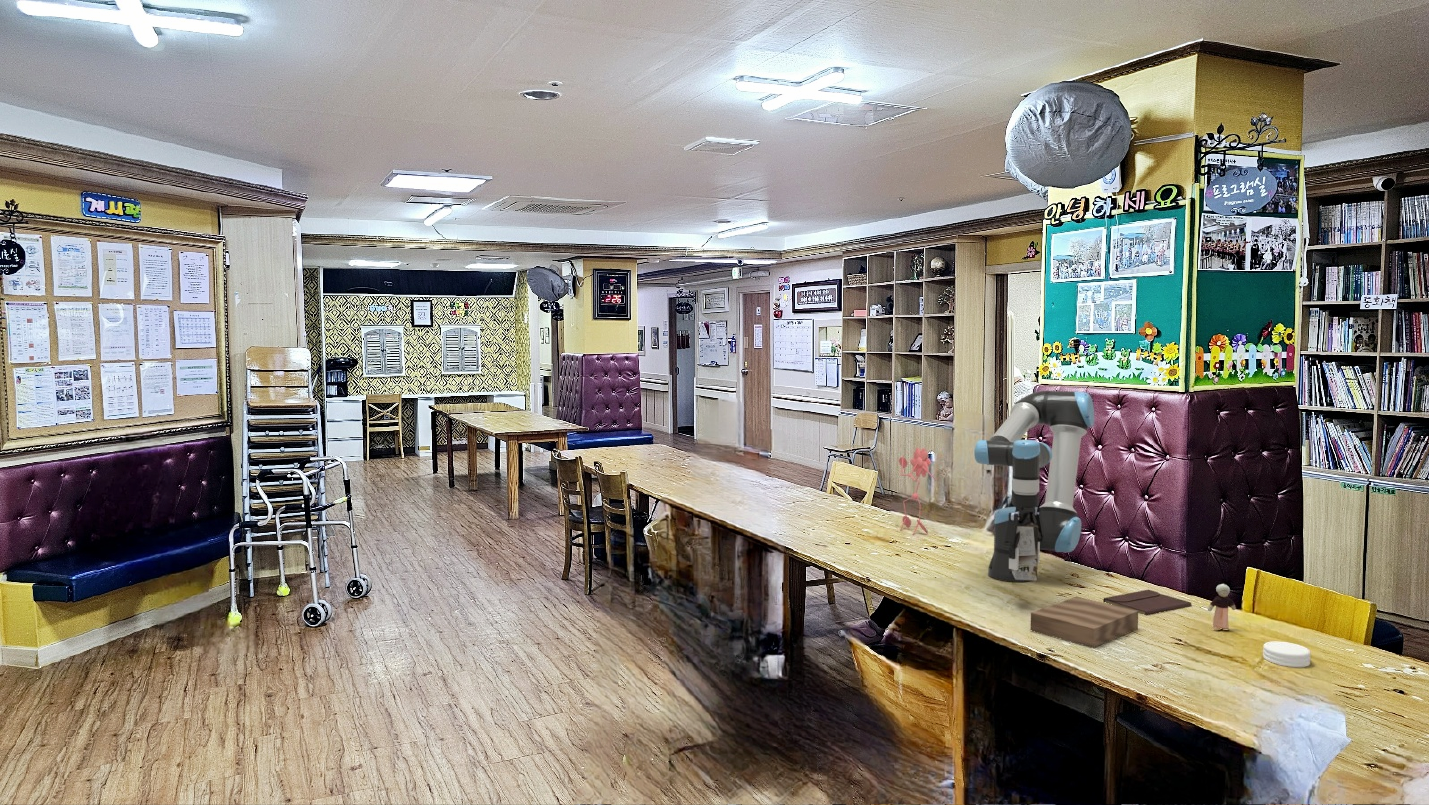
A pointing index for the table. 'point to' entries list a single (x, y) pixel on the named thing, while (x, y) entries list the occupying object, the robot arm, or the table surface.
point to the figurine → (919, 467)
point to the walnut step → (1084, 621)
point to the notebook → (1147, 602)
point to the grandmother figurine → (1221, 607)
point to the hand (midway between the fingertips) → (1024, 565)
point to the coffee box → (1027, 552)
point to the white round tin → (1286, 654)
